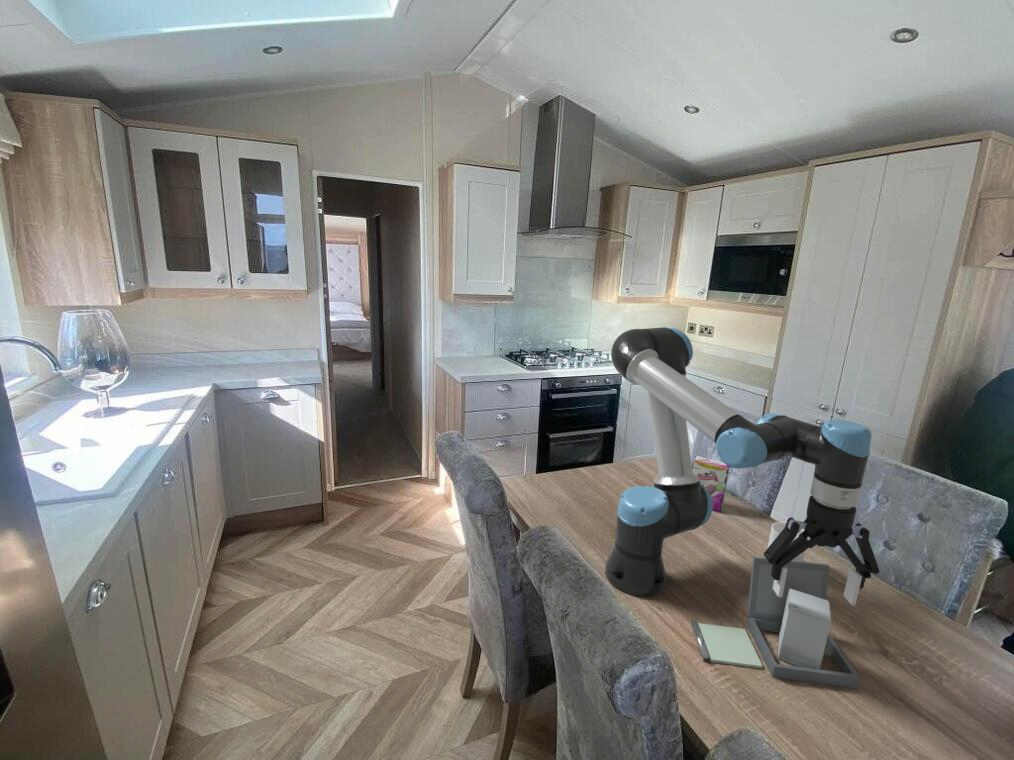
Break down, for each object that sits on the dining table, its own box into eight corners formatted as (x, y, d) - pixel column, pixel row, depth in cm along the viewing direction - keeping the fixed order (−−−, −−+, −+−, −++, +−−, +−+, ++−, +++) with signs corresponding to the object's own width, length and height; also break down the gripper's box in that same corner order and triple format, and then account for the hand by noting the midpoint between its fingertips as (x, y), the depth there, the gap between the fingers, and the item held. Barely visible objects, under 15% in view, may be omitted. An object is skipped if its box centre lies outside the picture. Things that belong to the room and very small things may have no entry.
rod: (702, 660, 95) (702, 655, 95) (689, 624, 105) (690, 619, 104) (709, 661, 95) (710, 655, 95) (696, 625, 105) (697, 620, 104)
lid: (754, 558, 103) (753, 556, 104) (749, 616, 104) (747, 614, 105) (829, 566, 101) (827, 564, 102) (823, 625, 102) (821, 623, 103)
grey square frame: (772, 677, 92) (774, 666, 91) (747, 625, 105) (748, 616, 104) (857, 688, 90) (860, 678, 89) (820, 635, 103) (823, 625, 102)
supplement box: (819, 676, 93) (832, 622, 90) (776, 658, 96) (787, 607, 93) (818, 651, 99) (830, 600, 96) (778, 636, 102) (788, 586, 99)
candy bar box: (686, 503, 159) (692, 459, 155) (689, 498, 163) (695, 454, 159) (721, 513, 153) (728, 468, 150) (723, 507, 158) (730, 462, 154)
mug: (818, 570, 126) (826, 535, 123) (783, 577, 122) (791, 541, 120) (791, 552, 134) (798, 519, 131) (758, 558, 130) (764, 524, 128)
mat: (710, 661, 95) (711, 659, 95) (697, 625, 105) (698, 623, 104) (762, 668, 94) (762, 666, 94) (744, 631, 103) (744, 629, 103)
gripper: (772, 504, 87) (755, 602, 92) (918, 516, 84) (892, 617, 89) (756, 486, 94) (741, 578, 99) (890, 497, 91) (868, 591, 96)
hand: (813, 596), depth 94 cm, fingers open, 13 cm apart
